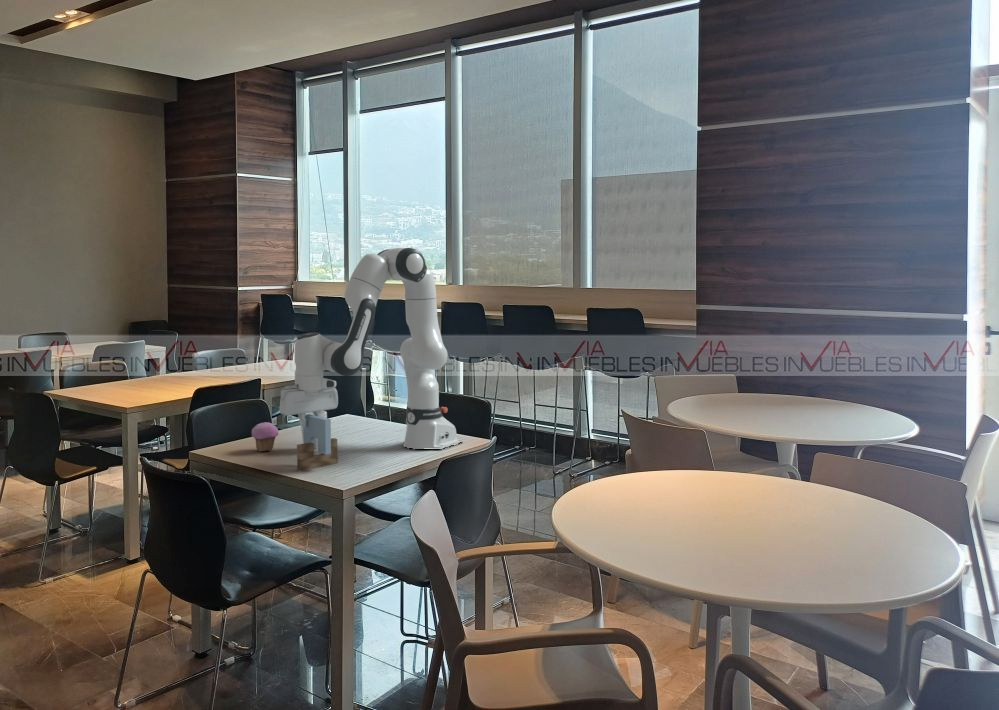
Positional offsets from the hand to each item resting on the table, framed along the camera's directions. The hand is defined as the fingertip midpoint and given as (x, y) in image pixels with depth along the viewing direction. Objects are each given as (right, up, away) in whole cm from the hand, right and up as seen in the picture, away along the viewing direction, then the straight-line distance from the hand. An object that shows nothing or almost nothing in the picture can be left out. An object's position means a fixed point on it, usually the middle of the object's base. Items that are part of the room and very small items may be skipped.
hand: (309, 425), depth 252 cm
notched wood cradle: (+3, -13, -1) cm, 13 cm away
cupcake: (-20, -11, +19) cm, 30 cm away
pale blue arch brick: (+3, -8, -2) cm, 9 cm away
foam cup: (-4, -10, +22) cm, 25 cm away
